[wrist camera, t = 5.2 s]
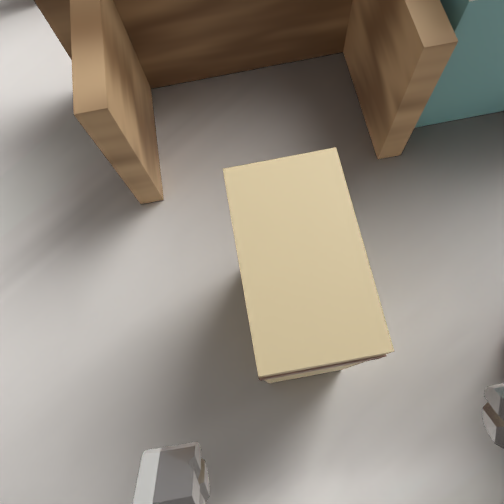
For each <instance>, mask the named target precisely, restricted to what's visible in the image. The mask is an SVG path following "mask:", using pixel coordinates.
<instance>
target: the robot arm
mask: <svg viewBox="0 0 504 504" xmlns="http://www.w3.org/2000/svg"><path fill="white" fill-rule="evenodd" d="M484 397H485V399H486V400H487V401H488V403H487V404H486V405H485V406H484V407H483V409H482V419H483V422H484V426H485V428H486V430H487V432H488V434H489V436H490V437H491V439H492V440H493V442H494V443H495V444H497V445H498V446H500V447H502V448H504V383H501V384H496V385H491V386H487V387H486V389H485V391H484ZM209 488H210V486H209V475H208V470H207V465H206V462H205V460H203V459H202V458H201V447H200V445H199V442H191V443H185V444H178V445H172V446H166V447H160V448H155V449H149V450H144V452H143V454H142V456H141V462H140V467H139V472H138V477H137V482H136V487H135V492H134V498H133V503H132V504H206V501H207V500H208V498H209Z"/></svg>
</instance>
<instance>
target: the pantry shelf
mask: <svg viewBox="0 0 504 504" xmlns="http://www.w3.org/2000/svg"><path fill="white" fill-rule="evenodd" d="M34 1H35V3H36V4H37V6H38V7H39V9H40V11H41V12H42V14H43V15H44V17H45V19H46V20H47V22H48V23H49V25H50V27H51V28H52V30H53V31H54V33H55V34H56V36H57V38H58V39H59V41H60V42H61V44H62V46H63V47H64V49H65V50H66V52H67V53H68V55H69V57H70V58H71V60H72V80H73V110H74V116H75V117H76V118H77V120H78V121H79V122H80V124H81V125H82V126H83V128H84V129H85V130H86V132H87V133H88V134H89V136H90V137H91V138H92V140H93V141H94V142H95V144H96V145H97V146H98V148H99V149H100V150H101V152H102V153H103V154H104V156H105V157H106V158H107V160H108V161H109V162H110V164H111V165H112V166H113V168H114V169H115V170H116V172H117V173H118V174H119V176H120V177H121V178H122V180H123V181H124V182H125V184H126V185H127V186H128V188H129V189H130V190H131V192H132V193H133V194H134V196H135V197H136V198H137V200H138V201H139V202H140V204H144V203H150V202H155V201H160V200H164V199H163V190H162V181H161V172H160V163H159V155H158V146H157V137H156V128H155V119H154V110H153V102H152V93H151V89H152V88H158V87H163V86H168V85H173V84H179V83H184V82H189V81H194V80H200V79H205V78H210V77H215V76H220V75H226V74H231V73H236V72H241V71H247V70H252V69H257V68H262V67H268V66H273V65H278V64H283V63H289V62H294V61H299V60H304V59H310V58H315V57H320V56H325V55H331V54H336V53H341V52H343V53H344V57H345V60H346V63H347V66H348V69H349V72H350V75H351V78H352V81H353V85H354V88H355V91H356V94H357V97H358V100H359V103H360V106H361V109H362V113H363V116H364V119H365V122H366V125H367V128H368V131H369V134H370V137H371V141H372V144H373V147H374V150H375V153H376V156H377V159H382V158H388V157H393V156H398V155H401V153H402V151H403V149H404V147H405V145H406V143H407V141H408V139H409V137H410V136H411V134H412V132H413V130H414V128H415V126H416V124H417V122H418V120H419V118H420V116H421V114H422V112H423V110H424V108H425V106H426V104H427V102H428V100H429V98H430V96H431V94H432V92H433V90H434V88H435V86H436V84H437V82H438V80H439V78H440V76H441V74H442V72H443V70H444V68H445V66H446V64H447V62H448V60H449V59H450V57H451V55H452V53H453V51H454V49H455V47H456V45H457V43H458V39H457V37H456V35H455V33H454V30H453V28H452V26H451V24H450V21H449V19H448V17H447V15H446V13H445V10H444V8H443V6H442V4H441V1H440V0H34Z"/></svg>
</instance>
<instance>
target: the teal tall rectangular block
mask: <svg viewBox="0 0 504 504" xmlns="http://www.w3.org/2000/svg"><path fill="white" fill-rule="evenodd" d="M440 1H441V4H442V6H443V8H444V10H445V13H446V15H447V17H448V19H449V21H450V24H451V26H452V28H453V30H454V33H455V35H456V37H457V39H458V43H457V45H456V47H455V49H454V51H453V53H452V55H451V57H450V59H449V60H448V62H447V64H446V66H445V68H444V70H443V72H442V74H441V76H440V78H439V80H438V82H437V84H436V86H435V88H434V90H433V92H432V94H431V96H430V98H429V100H428V102H427V104H426V106H425V108H424V110H423V112H422V114H421V116H420V118H419V120H418V122H417V124H416V126H415V128H416V127H421V126H426V125H432V124H437V123H442V122H448V121H453V120H458V119H463V118H469V117H474V116H479V115H485V114H490V113H495V112H500V111H504V0H440Z"/></svg>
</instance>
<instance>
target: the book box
mask: <svg viewBox="0 0 504 504" xmlns="http://www.w3.org/2000/svg"><path fill="white" fill-rule="evenodd" d="M223 174H224V180H225V186H226V192H227V197H228V203H229V209H230V215H231V221H232V226H233V232H234V238H235V244H236V250H237V256H238V261H239V267H240V273H241V279H242V285H243V290H244V296H245V302H246V308H247V314H248V319H249V325H250V331H251V337H252V343H253V348H254V354H255V360H256V366H257V372H258V377H259V380H261V381H262V380H264V381H266V382H268V383H274V382H279V381H285V380H290V379H296V378H301V377H306V376H312V375H317V374H322V373H328V372H333V371H339V370H343V369H346V368H348V367H351V366H354V365H357V364H360V363H363V362H365V361H370V360H375V359H379V358H382V357H385V356H386V354H388V353H391V352H394V349H393V345H392V342H391V338H390V335H389V331H388V328H387V324H386V321H385V317H384V314H383V310H382V307H381V303H380V300H379V296H378V293H377V289H376V286H375V282H374V279H373V275H372V272H371V268H370V264H369V261H368V257H367V254H366V250H365V247H364V243H363V240H362V236H361V233H360V229H359V226H358V222H357V219H356V215H355V212H354V208H353V205H352V201H351V198H350V194H349V191H348V187H347V184H346V180H345V177H344V173H343V170H342V166H341V163H340V159H339V156H338V152H337V149H336V147H335V148H330V149H325V150H319V151H314V152H309V153H303V154H298V155H293V156H288V157H282V158H277V159H272V160H267V161H261V162H256V163H251V164H245V165H240V166H235V167H230V168H224V169H223Z"/></svg>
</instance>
